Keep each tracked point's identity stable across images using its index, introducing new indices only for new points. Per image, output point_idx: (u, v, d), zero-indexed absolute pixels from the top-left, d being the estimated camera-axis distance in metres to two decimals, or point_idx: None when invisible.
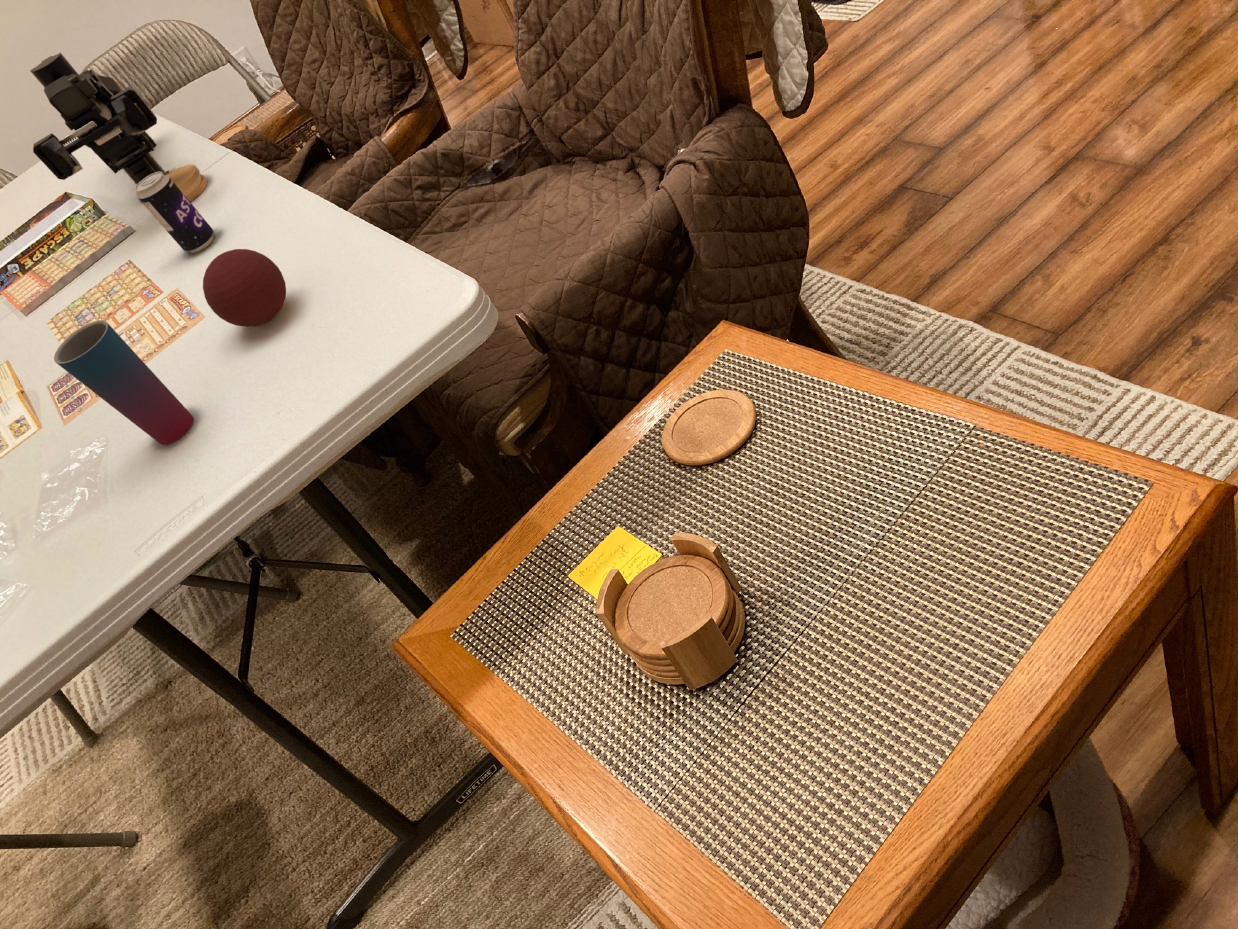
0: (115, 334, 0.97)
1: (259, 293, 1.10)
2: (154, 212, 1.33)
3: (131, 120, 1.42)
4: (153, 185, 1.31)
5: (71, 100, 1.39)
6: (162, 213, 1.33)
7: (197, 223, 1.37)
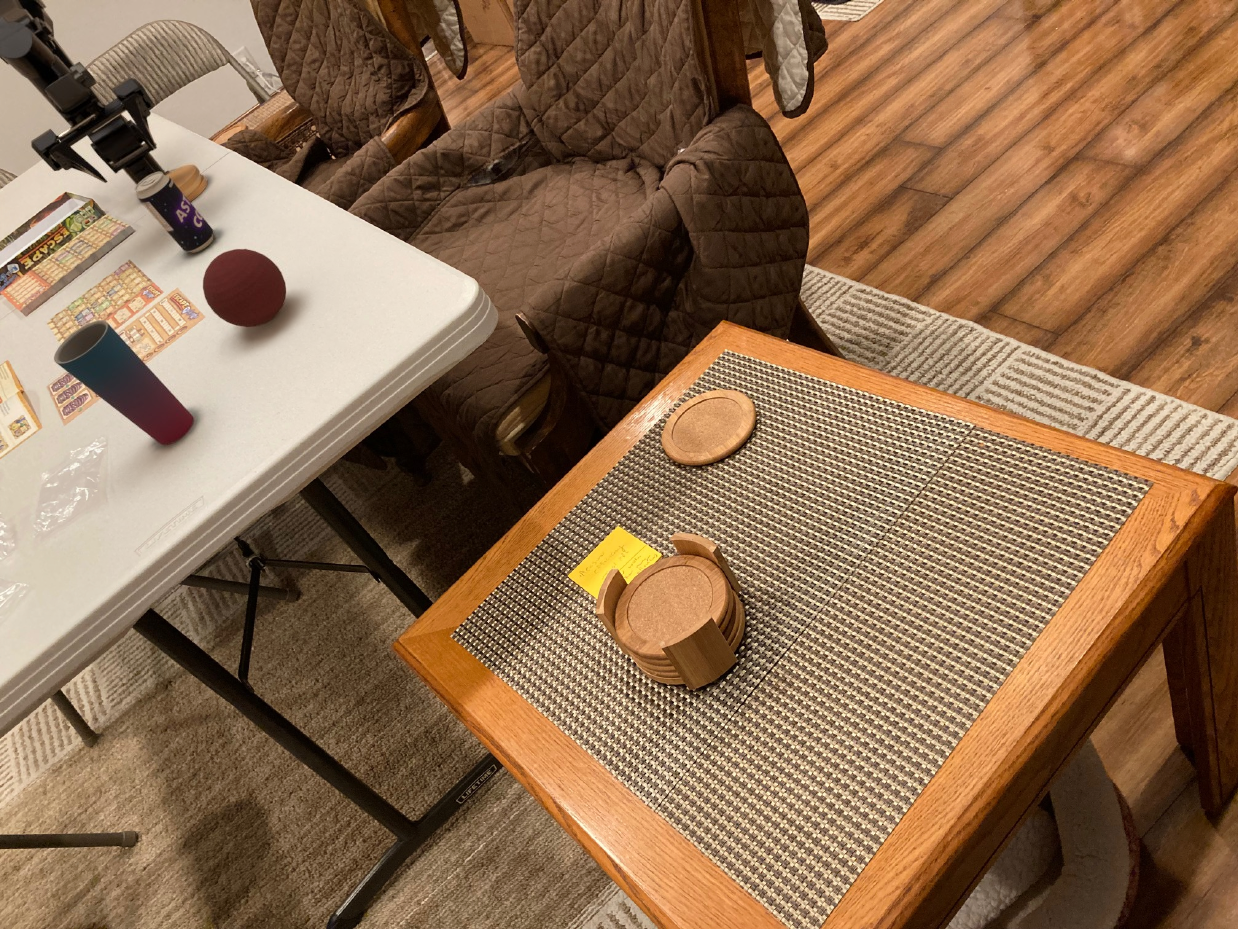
0: (115, 334, 0.97)
1: (259, 293, 1.10)
2: (154, 212, 1.33)
3: None
4: (153, 185, 1.31)
5: (77, 99, 1.31)
6: (162, 213, 1.33)
7: (197, 223, 1.37)
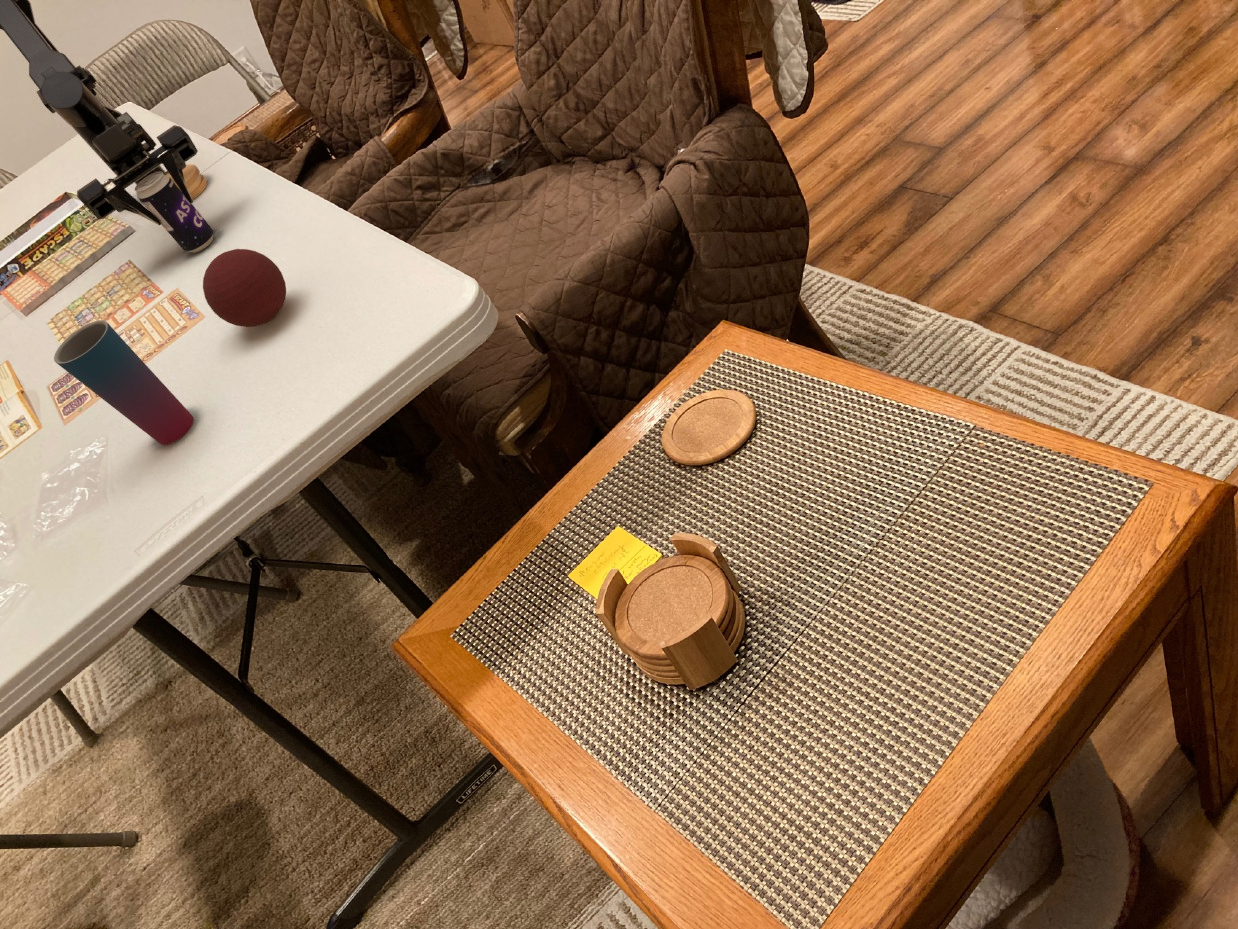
0: (115, 334, 0.97)
1: (259, 293, 1.10)
2: (154, 212, 1.33)
3: None
4: (153, 185, 1.31)
5: (123, 149, 1.30)
6: (162, 213, 1.33)
7: (197, 223, 1.37)
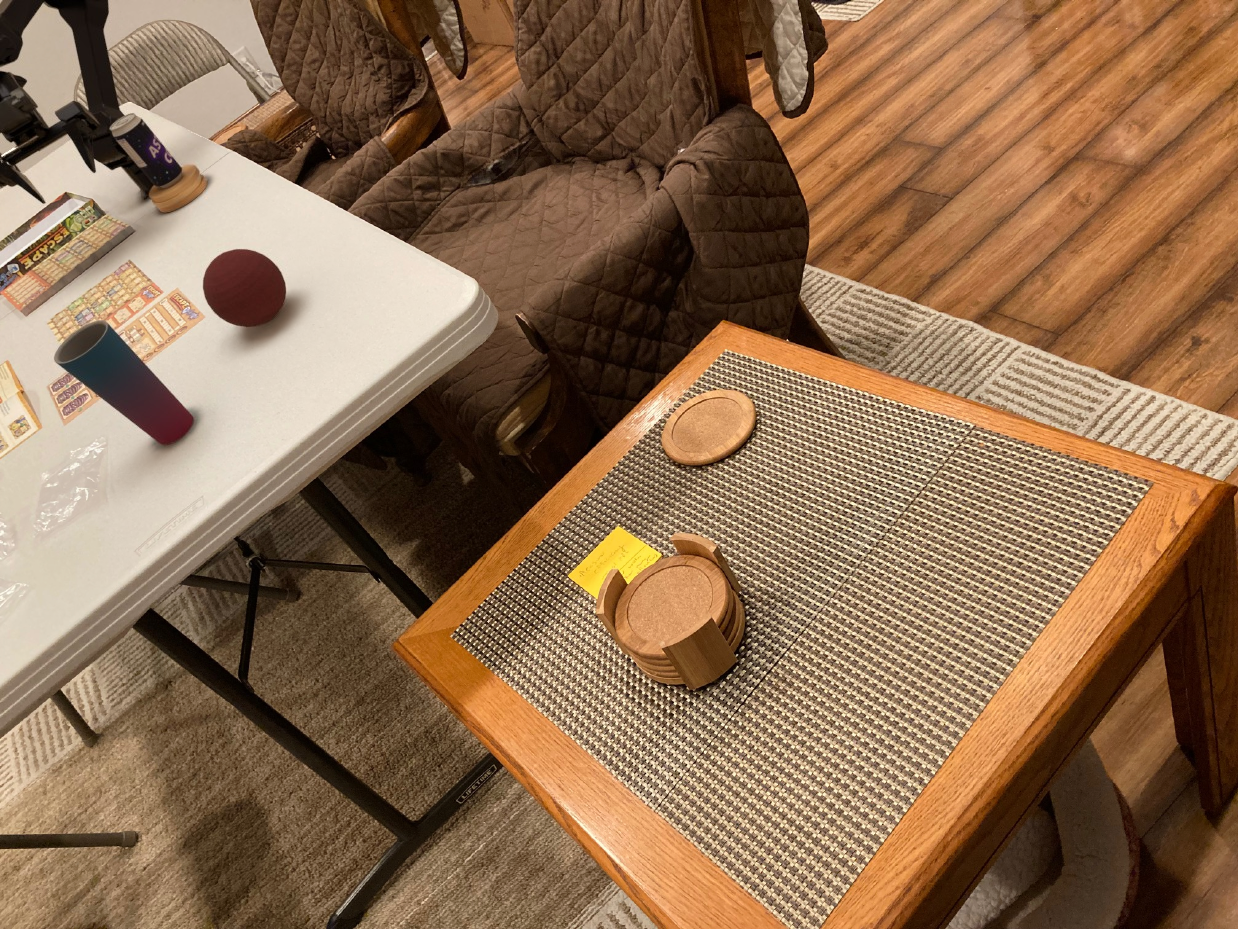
0: (115, 334, 0.97)
1: (259, 293, 1.10)
2: (129, 148, 1.48)
3: None
4: (128, 123, 1.46)
5: (16, 123, 1.34)
6: (136, 149, 1.49)
7: (168, 159, 1.52)
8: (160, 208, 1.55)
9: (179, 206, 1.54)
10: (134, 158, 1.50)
